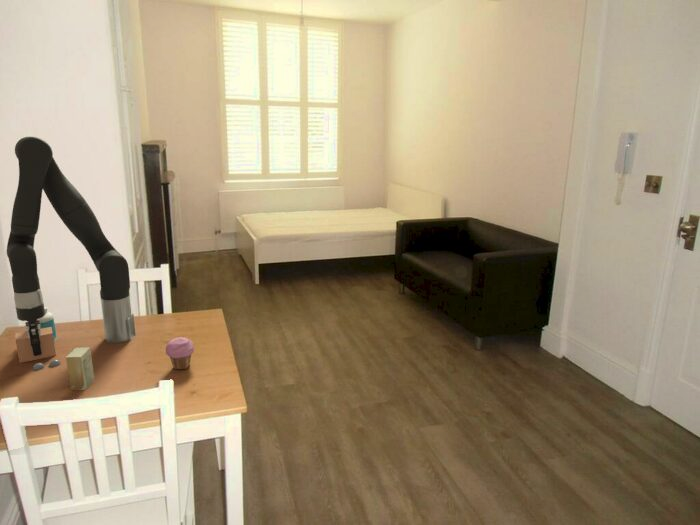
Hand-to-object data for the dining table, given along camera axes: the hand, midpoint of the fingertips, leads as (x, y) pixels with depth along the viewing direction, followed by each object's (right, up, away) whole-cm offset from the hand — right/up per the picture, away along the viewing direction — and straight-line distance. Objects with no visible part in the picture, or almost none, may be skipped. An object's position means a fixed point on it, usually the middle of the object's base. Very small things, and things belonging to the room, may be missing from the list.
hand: (37, 350), depth 156 cm
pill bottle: (-5, 0, +12) cm, 13 cm away
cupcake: (+48, -5, -1) cm, 48 cm away
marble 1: (+5, -4, -7) cm, 10 cm away
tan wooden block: (0, -2, 0) cm, 2 cm away
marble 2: (+9, -3, -5) cm, 11 cm away
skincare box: (+24, -9, -16) cm, 30 cm away
